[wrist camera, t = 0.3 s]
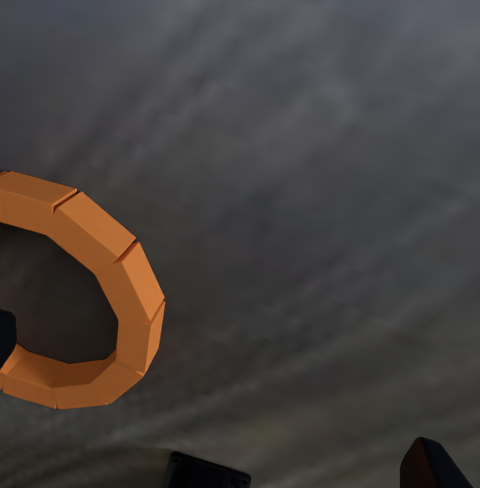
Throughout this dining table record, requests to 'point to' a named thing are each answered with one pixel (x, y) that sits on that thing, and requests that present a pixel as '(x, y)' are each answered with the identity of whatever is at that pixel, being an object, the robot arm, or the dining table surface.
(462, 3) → the dining table surface
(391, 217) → the dining table surface
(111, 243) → the ring
